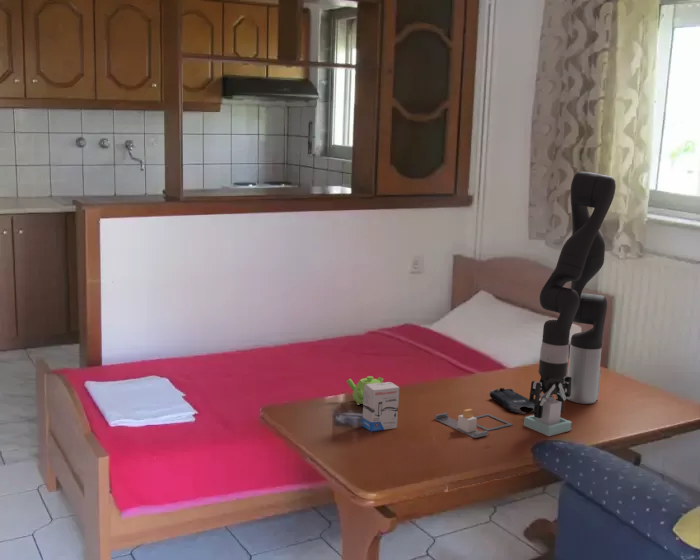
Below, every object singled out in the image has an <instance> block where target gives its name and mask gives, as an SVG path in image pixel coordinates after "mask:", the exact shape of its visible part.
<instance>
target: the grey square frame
mask: <svg viewBox="0 0 700 560" xmlns="http://www.w3.org/2000/svg"><path fill="white" fill-rule="evenodd" d="M474 417H475V418H477V419H481V418H485V417H486V418H487V417H489V418H492V419H494V420H496V421H498V422H501V423H503V425H502V424H501V425H498V426H495V427H490V428H487V427H485V426H482V425H481V424H478V423H476V428H479V429H481V430H483V431H488V432H491V431H495V429H496V430H499V429H503V428H507V427H508V428H509V427H512V426H513V423H510V422H508V421H506V420H503V419H501V418H499V417H496V416H494V415H492V414H491V413H484V414H480V415H477V416H474ZM505 423H506V424H505Z"/></svg>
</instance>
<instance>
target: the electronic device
mask: <svg viewBox="0 0 700 560" xmlns="http://www.w3.org/2000/svg"><path fill="white" fill-rule="evenodd" d="M489 397H490V398H491V399H492V400H494V401H495V402H497V403H498V404H500V405H501V406H503V407H504V408H505V409H506V410H507V411H508V410H509V412H512V413H514V414H523V415H525V414H527V412H525V411H527V410H526V408H530V409H531V411H529V412H528V414H531V413H532V412H533V413H534V403H531V402H529V399H528V398H527V397H526V396H523V395H522V394H519V393H517V392H515V391H514V389H513V388H506V389H505V388H504V387H500V388H499V389H498V388H496V389H492V390H491V391H489ZM525 407H526V408H525ZM520 408H521V409H520Z"/></svg>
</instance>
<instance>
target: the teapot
mask: <svg viewBox="0 0 700 560" xmlns="http://www.w3.org/2000/svg"><path fill="white" fill-rule="evenodd" d="M346 383H347V385H348V387H350V389H351V390H352V398H353V400H354V401H355V402H356V404H357V403H359V404H363V399H364V386H365V385H366V384H374V383H384V378H383V377H380V376H378V378H374V376H372V375H371V376H370V375H368V376H366V377H363V378H361V379H360V380H359V381H358V382H357V383H356V384H355V383H354V381H353V380H352V379H351V378H348V379H347V380H346Z"/></svg>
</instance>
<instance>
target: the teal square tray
mask: <svg viewBox="0 0 700 560" xmlns="http://www.w3.org/2000/svg"><path fill="white" fill-rule="evenodd" d="M523 422H524V423H523V426H524V427H526V428H529V429H531V430H532V431H533V430H534V431H535V432H537V433H540V434H542V435H545V436H548V437H551V436H555V435H558V434H561V433H566V432H569V431H571V430H572V423H573V422H572V421H571V420H567V419H566V418H564V417H561V416H560V423H558V424H554V425H550V426H549V425H547V424H544V423H542V422H539V421H537V420H536V417H535V416H534V414H532V415H528V416H525V417H524V421H523Z"/></svg>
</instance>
